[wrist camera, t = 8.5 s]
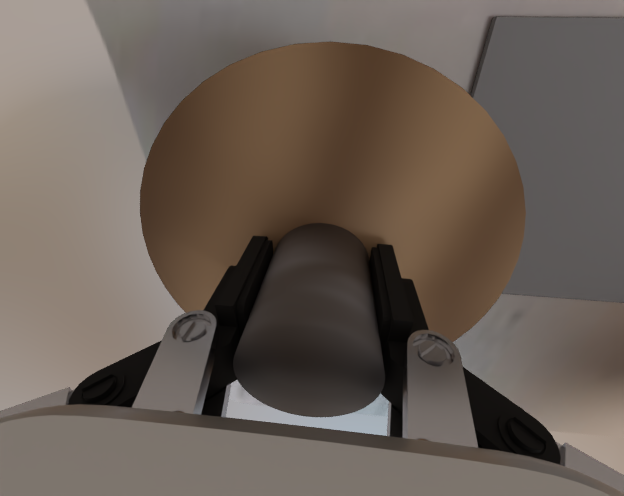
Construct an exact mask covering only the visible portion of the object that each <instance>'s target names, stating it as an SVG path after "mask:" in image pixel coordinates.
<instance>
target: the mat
mask: <svg viewBox="0 0 624 496" xmlns="http://www.w3.org/2000/svg"><path fill="white" fill-rule="evenodd" d="M471 97H472V98H473V99H474V100H475V101H476V102H477V103H478V104H479V105H481V106H482V107H483V108H484V109H485V110H486V111H487V113H488V114H489V116H490V117H491V118H492V120H493V121H494V122H495V124H496V125H497V127H498V128H499V129H500V131H501V132H502V134H503V135H504V137H505V139H506V141H507V143H508V145H509V147H510V149H511V151H512V153H513V155H514V157H515V160H516V162H517V165H518V169H519V173H520V176H521V180H522V184H523V187H524V198H525V209H526V217H525V230H524V239H523V243H522V247H521V250H520V254H519V258H518V261H517V264H516V266H515V268H514V271H513V273H512V275H511V278H510V280H509V282H508V283H507V285H506V287H505V288H504V290H503V292H502V293H501V294H513V295H527V296H540V297H553V298H566V299H580V300H593V301H606V302H619V303H624V18H581V17H495V18H493V19H492V23H491V26H490V30H489V33H488V37H487V40H486V44H485V47H484V51H483V54H482V58H481V61H480V65H479V68H478V72H477V75H476V79H475V82H474V86H473V89H472V93H471Z"/></svg>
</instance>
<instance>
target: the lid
mask: <svg viewBox="0 0 624 496" xmlns="http://www.w3.org/2000/svg"><path fill="white" fill-rule="evenodd" d="M140 216H141V223H142V231H143V236H144V239H145V243H146V246H147V250H148V253H149V256H150V258H151V260H152V263H153V265H154V267H155V270H156V272H157V274H158V275H159V277H160V279H161V281H162V282H163V284H164V285H165V287H166V289H167V290H168V292H169V293H170V294H171V296H172V297H173V298H174V300H175V301H176V302H177V304H178V305H179V306H180V307H181V308H182V309H183V310H184V311H185V312H186V313H187V312H190V311H196V310H204V308H205V306H206V305H207V303H208V301H209V300H210V298H211V296H212V294H213V293H214V291H215V289H216V288H217V286H218V284H219V283H220V281H221V279H222V277H223V276H224V274H225V272H226V271H227V269H228V268H229V266H231V265H232V266H236V265H237V263H238V262H239V260H240V258H241V256H242V254H243V253H244V251H245V249H246V247H247V245H248V244H249V242H250V240H251V238H252V237H253V236H267V237H268V240H272V242H273V256H272V259H271V261H270V264H269V267H268V269H267V272H266V274H265V277H264V280H263V282H262V285H261V287H260V290H259V293H258V295H257V298H256V300H255V303H254V305H253V308H252V311H251V313H250V316H249V318H248V321H247V324H246V326H245V329H244V331H243V334H242V337H241V339H240V342H239V344H238V347H237V350H236V352H235V355H234V359H233V368H234V372H235V375H236V377H237V379H238V381H239V383H240V384H241V385H242V387H243V388H244V389H245V390H246V391H247V392H248V393H249V394H251V395H252V396H253V397H254V398H256V399H257V400H259V401H261V402H262V403H264V404H266V405H268V406H270V407H272V408H275V409H278V410H281V411H284V412H287V413H291V414H295V415H301V416H309V417H333V416H340V415H345V414H349V413H352V412H355V411H358V410H360V409H362V408H364V407H366V406H367V405H369V404H370V403H372V402H373V401H374V400H375V399H376V398H377V397H378V396H379V394H380V393H381V391H382V389H383V387H384V383H385V371H384V364H383V356H382V349H381V342H380V337H379V330H378V322H377V315H376V307H375V300H374V292H373V285H372V277H371V270H370V262H369V260H370V254H371V249H372V247H377V244H388V245H392V246H393V249H394V253H395V256H396V260H397V264H398V267H399V271H400V274H401V278H406V279H412V281H413V283H414V286H415V289H416V292H417V295H418V298H419V301H420V304H421V307H422V310H423V313H424V316H425V319H426V322H427V326H428V329H429V330H431V331H434V332H438V333H440V334H442V335H444V336H445V337H447V338H448V339H449V340H451V341H452V342H454V341H455V340H457V339H458V338H459V337H460V336H462V335H463V334H464V333H466V332H467V331H468V330H470V329H471V328H472V327H473V326H474V325H475V324H476V323H477V322H478V321H479V320H480V319H481V318H482V317H483V316H484V315H485V314H486V313H487V312H488V311H489V309H490V308H491V307H492V306H493V304H494V303H495V302H496V301H497V299H498V298H499V297H500V295H501V293H502V292H503V290H504V288H505V287H506V285H507V283H508V282H509V280H510V278H511V275H512V273H513V271H514V268H515V266H516V264H517V261H518V258H519V254H520V250H521V247H522V243H523V239H524V230H525V217H526V209H525V198H524V187H523V184H522V180H521V176H520V173H519V169H518V165H517V162H516V160H515V157H514V155H513V153H512V151H511V149H510V147H509V145H508V143H507V141H506V139H505V137H504V135H503V134H502V132H501V131H500V129H499V128H498V127H497V125H496V124H495V122H494V121H493V120H492V118H491V117H490V116H489V114H488V113H487V111H486V110H485V109H484V108H483V107H482V106H481V105H479V104H478V103H477V102H476V101H475V100H474V99H473V98H472V97H471V96H470V95H469V94H468V93H467V92H466V91H465V90H464V89H463V88H462V87H460V86H459V85H457V84H456V83H454V82H453V81H451V80H450V79H448V78H447V77H445V76H444V75H442V74H441V73H439V72H438V71H436V70H435V69H433V68H431V67H429V66H426V65H424V64H422V63H420V62H417V61H415V60H413V59H411V58H409V57H406V56H404V55H402V54H398V53H394V52H391V51H387V50H383V49H379V48H376V47H372V46H368V45H360V44H350V43H339V42H318V43H303V44H293V45H289V46H284V47H280V48H276V49H271V50H267V51H263V52H260V53H257V54H255V55H252V56H250V57H248V58H245V59H243V60H240V61H238V62H235V63H233V64H231V65H229V66H227V67H226V68H224V69H223V70H221V71H219V72H218V73H216V74H215V75H213V76H211V77H210V78H208V79H207V80H205V81H204V82H202V83H201V84H200V85H199V86H198V87H197V88H196V89H195V90H193V91H192V92H191V93H190V94H189V95H188V96H187V97H186V98H184V99H183V100H182V101H181V103H180V104H179V105H178V106H177V108H176V109H175V110H174V111H173V113H172V114H171V115H170V116H169V118H168V119H167V120H166V121H165V123H164V125H163V126H162V128H161V130H160V132H159V134H158V136H157V137H156V139H155V141H154V143H153V145H152V147H151V150H150V153H149V156H148V159H147V162H146V165H145V167H144V173H143V178H142V184H141V190H140Z"/></svg>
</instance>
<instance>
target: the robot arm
mask: <svg viewBox="0 0 624 496" xmlns="http://www.w3.org/2000/svg"><path fill="white" fill-rule="evenodd" d="M272 256H273V242H272V240H268V237H267V236H253V237H252V238H251V240H250V242H249V244H248V245H247V247H246V249H245V251H244V253H243V254H242V256H241V258H240V260H239V262H238V263H237V265H236V266H232V265H231V266H229V268H228V269H227V271H226V272H225V274H224V276H223V277H222V279H221V281H220V283H219V284H218V286H217V288H216V289H215V291H214V293H213V294H212V296H211V298H210V300H209V301H208V303H207V305H206V306H205V308H204V310H196V311H190V312H187V313H184V314H182V315H181V316H179V317H177V318H176V319H175V320H174V321H173V322H171V324H170V325H169V327H168V328H167V331H166V333H165V335H164V337H163V339H162V341H160V342H158V343H155V344H153V345H151V346H149V347H147V348H145V349H143V350H141V351H139V352H137V353H135V354H132V355H130V356H128V357H126V358H124V359H122V360H120V361H118V362H116V363H114V364H112V365H110V366H107V367H106V368H103V369H101V370H99V371H97V372H95V373H94V374H92V375H90V376H89V377H87V378H86V379H85V380H84V381H82V382H81V383H80V384H79V385H78V387H77V388H76V389H75V390H71V389H70V387H68V388H65V389H62V390H59V391H57V392H54V393H51V394H48V395H45V396H42V397H39V398H37V399H34V400H31V401H28V402H25V403H22V404H20V405H16V406H14V407H11V408H8V409H5V410H2V411H0V496H624V475H623V474H621V473H619V472H617V471H615V470H614V469H612V468H610V467H608V466H607V465H605V464H603V463H601V462H599V461H598V460H596V459H594V458H592V457H590V456H589V455H587V454H585V453H584V452H582V451H580V450H578V449H576V448H575V447H573V446H571V445H569V444H567V443H564V444H563V445H560V444H558V443H557V442H555V440H554V439H553V436H552V435H551V434H550V433H549V431H548V430H547V429H546V428H545V427H544V426H543V425H542V424H541V423H540V422H539V421H537V420H536V419H535V418H534V417H532V416H531V415H530V414H528V413H527V412H525V411H524V410H523V409H521V408H520V407H518V406H517V405H516V404H514V403H513V402H511V401H510V400H509V399H507V398H506V397H504V396H503V395H502V394H500V393H499V392H497V391H496V390H495V389H493V388H492V387H490V386H489V385H488V384H486V383H485V382H483V381H482V380H481V379H479V378H478V377H476V376H475V375H474V374H472V373H471V372H469V371H468V370H467V369H465V368H464V367H463V366H462V361H461V356H460V353H459V351H458V348H457V347H456V346H455V344H454V343H453V342H452V341H451V340H449V339H448V338H447V337H445V336H444V335H442V334H440V333H438V332H434V331H431V330H429V329H428V326H427V322H426V319H425V316H424V313H423V310H422V307H421V304H420V301H419V298H418V295H417V292H416V289H415V286H414V283H413V281H412V279H406V278H401V274H400V271H399V267H398V264H397V260H396V256H395V253H394V249H393V246H392V245H388V244H377V247H372V249H371V254H370V260H369V262H370V270H371V277H372V285H373V292H374V300H375V307H376V315H377V322H378V330H379V337H380V342H381V349H382V356H383V364H384V371H385V383H384V387H383V389H382V391H381V394H382V395H383V396H384V397H385V398H386V399H387V400H388V401H389V407H388V426H387V436H382V435H373V434H365V433H357V432H348V431H340V430H331V429H322V428H314V427H305V426H297V425H288V424H279V423H271V422H262V421H253V420H243V419H235V418H226V411H227V405H228V399H229V393H230V388H231V383H232V382H234V381H235V380H237V377H236V375H235V372H234V368H233V359H234V355H235V352H236V350H237V347H238V344H239V342H240V339H241V337H242V334H243V331H244V329H245V326H246V324H247V321H248V318H249V316H250V313H251V311H252V308H253V305H254V303H255V300H256V298H257V295H258V293H259V290H260V287H261V285H262V282H263V280H264V277H265V274H266V272H267V269H268V267H269V264H270V261H271V259H272Z"/></svg>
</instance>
